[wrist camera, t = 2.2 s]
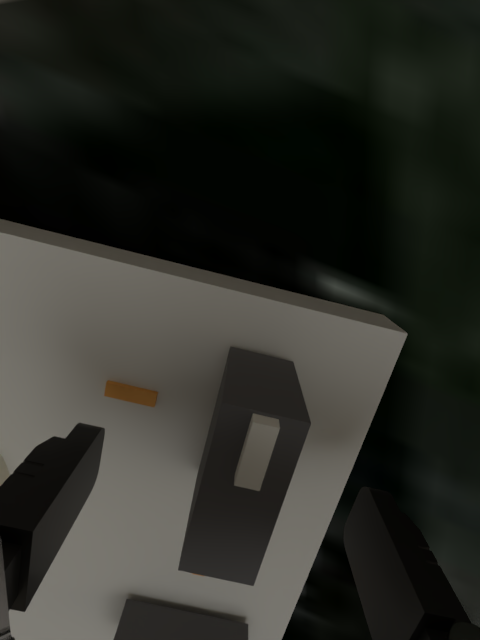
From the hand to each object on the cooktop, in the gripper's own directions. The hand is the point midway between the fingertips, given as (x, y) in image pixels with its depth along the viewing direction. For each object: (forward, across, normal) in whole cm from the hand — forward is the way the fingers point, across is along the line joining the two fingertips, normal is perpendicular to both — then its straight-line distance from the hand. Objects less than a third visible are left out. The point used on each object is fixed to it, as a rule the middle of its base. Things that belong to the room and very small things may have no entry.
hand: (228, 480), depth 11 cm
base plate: (+6, +4, +6) cm, 10 cm away
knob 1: (+3, 0, 0) cm, 3 cm away
